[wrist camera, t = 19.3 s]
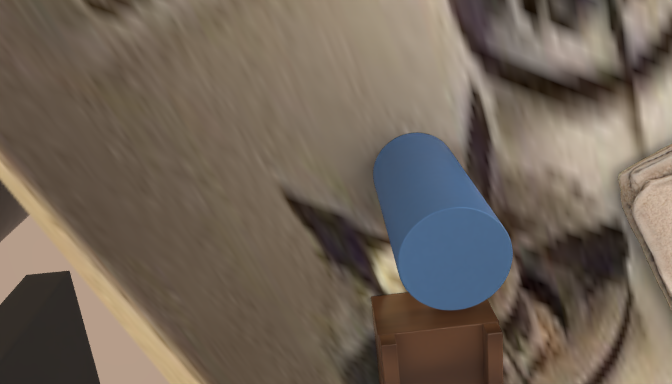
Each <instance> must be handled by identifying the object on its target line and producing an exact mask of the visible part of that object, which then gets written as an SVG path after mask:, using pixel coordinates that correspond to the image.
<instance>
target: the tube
mask: <svg viewBox="0 0 672 384" xmlns="http://www.w3.org/2000/svg"><path fill="white" fill-rule="evenodd" d="M373 179H374V184H375V188H376V191H377V195H378V199H379V202H380V206H381V210H382V214H383V217H384V221H385V225H386V228H387V232H388V236H389V239H390V243H391V247H392V251H393V254H394V258H395V262H396V265H397V269H398V273H399V276H400V279H401V281H402V283H403V285H404V287H405V288H406V290H407V291H408V292H409V293H410V294H411V296H413V297H414V298H415V299H416V300H418V301H419V302H421V303H423V304H425V305H427V306H429V307H432V308H435V309H441V310H460V309H466V308H469V307H472V306H475V305H477V304H479V303H481V302H483V301H485V300H486V299H488V298H489V297H491V296H492V295H493V294H494V293H495V292H496V291H497V290H498V289H499V288H500V287H501V285H502V284H503V283H504V281H505V280H506V278H507V276H508V274H509V271H510V268H511V264H512V256H513V251H512V244H511V240H510V238H509V235H508V233H507V231H506V230H505V228H504V226H503V225H502V224H501V222H500V221H499V219H498V218H497V216H496V215H495V214H494V212H493V211H492V209H491V208H490V206H489V205H488V204H487V202H486V201H485V199H484V198H483V196H482V195H481V194H480V192H479V191H478V189H477V188H476V186H475V185H474V184H473V182H472V181H471V179H470V178H469V176H468V175H467V174H466V172H465V171H464V169H463V168H462V166H461V165H460V164H459V162H458V161H457V159H456V158H455V156H454V155H453V154H452V152H451V151H450V149H449V148H448V147H447V146H446V145H445V144H444V143H443V142H442V141H441V140H439V139H438V138H436V137H434V136H432V135H429V134H424V133H409V134H405V135H402V136H399V137H397V138H395V139H394V140H392V141H390V142H389V143H388V144H387V145H386V146H385V147H384V148H383V149H382V150H381V152H380V153H379V155H378V157H377V159H376V161H375V165H374V170H373Z"/></svg>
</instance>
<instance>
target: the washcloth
mask: <svg viewBox="0 0 672 384" xmlns="http://www.w3.org/2000/svg"><path fill="white" fill-rule="evenodd" d="M618 181H619V186H620V188H621V202H622V206H623V209H624V212H625V215H626V217H627V219H628V221H629V224H630V226H631V228H632V230H633V232H634V234H635V236H636V238H637V239H638V241H639V242H640V245H641V247H642V249H643V251H644V254H645V256H646V259H647V261H648V263H649V265H650V267H651V269H652V272H653V274H654V276H655V278H656V280H657V283H658V284H659V286H660V288H661V289H662V291H663V293H664V295H665V298H666V300H667V302H668V304H669V306H670V308H671V310H672V144H671V145H669V146H667V147H665V148H663V149H661V150H659V151H657V152H656V153H654V154H652V155H650V156H649V157H647V158H645V159H643V160H641V161H639V162H638V163H636V164H634V165H632V166H631V167H629V168H627V169H626V170H624V171H623V172H621V173H620V174H619V175H618Z"/></svg>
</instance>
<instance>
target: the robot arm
mask: <svg viewBox="0 0 672 384" xmlns="http://www.w3.org/2000/svg"><path fill="white" fill-rule="evenodd" d="M0 384H100V382H99V378H98V374H97V370H96V366H95V363H94V359H93V356H92V352H91V348H90V345H89V341H88V337H87V334H86V330H85V326H84V323H83V319H82V315H81V312H80V308H79V305H78V301H77V297H76V293H75V290H74V286H73V282H72V279H71V275H70V272H69V271H62V272H52V273H42V274H32V275H26V276H25V277H24V278H23V280H22V281H21V282H20V283H19V284H18V285H17V286H16V288H15V289H14V290H13V291H12V292H11V293H10V294H9V295H8V297H7V298H6V299H5V300H4V301H3V302H2V303H1V305H0Z"/></svg>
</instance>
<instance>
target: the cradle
mask: <svg viewBox="0 0 672 384" xmlns="http://www.w3.org/2000/svg"><path fill="white" fill-rule="evenodd" d="M371 302H372V312H373V322H374V332H375V342H376V352H377V362H378V372H379V382H380V384H503V333H502V331H501V329H500V327H499V321H498V319H497V317H496V315H495V313H494V311H493V309H492V307H491V305H490V304H489V302H488V300H487V299H486V300H485V301H483V302H481V303H479V304H477V305H475V306H472V307H469V308H466V309H460V310H441V309H435V308H432V307H429V306H427V305H425V304H423V303H421V302H419V301H418V300H416V299H415V298H414V297H413V296H411V294H410V293H409V292H408V293H399V294H390V295H381V296H372V297H371Z"/></svg>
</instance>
